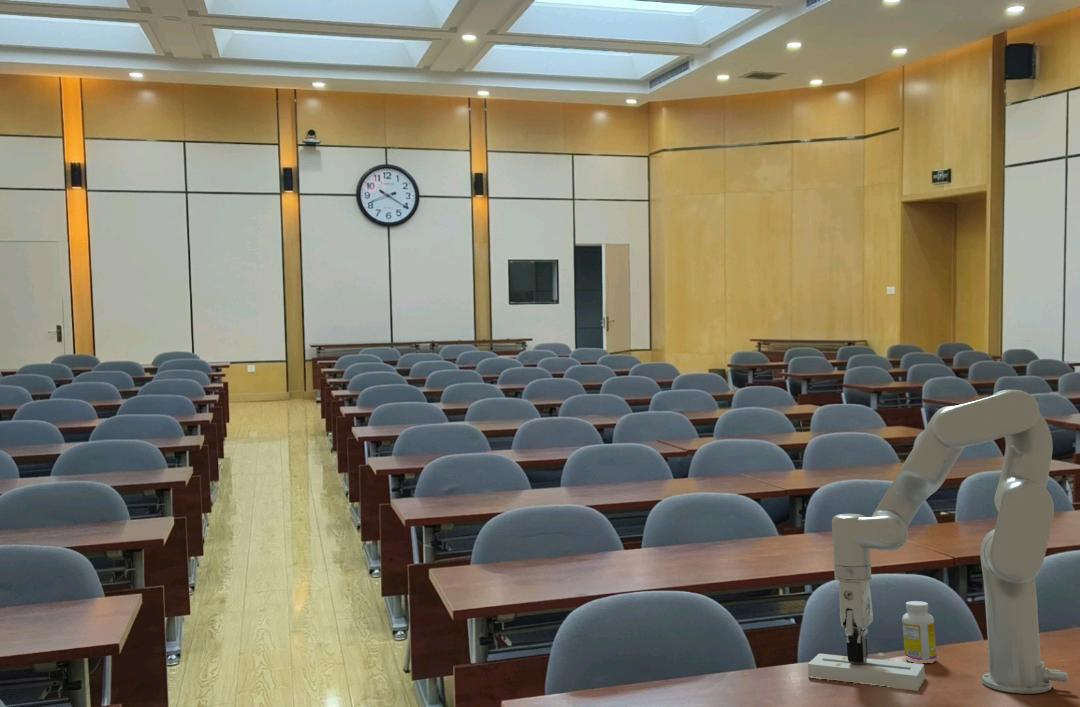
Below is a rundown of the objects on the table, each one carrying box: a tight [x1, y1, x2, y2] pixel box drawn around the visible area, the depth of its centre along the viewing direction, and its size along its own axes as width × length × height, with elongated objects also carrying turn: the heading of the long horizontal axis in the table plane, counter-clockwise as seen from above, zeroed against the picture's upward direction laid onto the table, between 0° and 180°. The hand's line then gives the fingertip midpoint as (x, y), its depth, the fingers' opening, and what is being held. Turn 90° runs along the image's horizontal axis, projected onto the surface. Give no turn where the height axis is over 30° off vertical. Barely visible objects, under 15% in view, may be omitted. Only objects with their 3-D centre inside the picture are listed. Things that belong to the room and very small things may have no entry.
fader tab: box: [844, 626, 869, 664], centre depth 198 cm, size 4×4×7 cm
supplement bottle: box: [901, 600, 938, 661], centre depth 209 cm, size 7×7×13 cm
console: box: [807, 653, 926, 692], centre depth 197 cm, size 22×9×3 cm, turn 59°
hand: (857, 658), depth 198 cm, fingers closed on fader tab, 3 cm apart
